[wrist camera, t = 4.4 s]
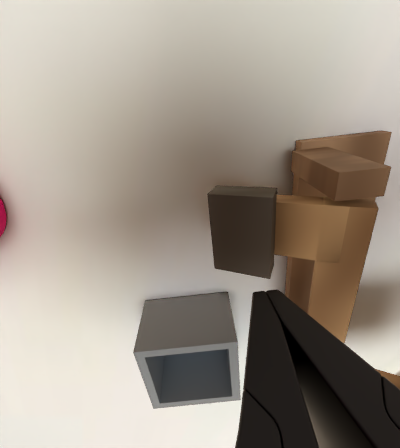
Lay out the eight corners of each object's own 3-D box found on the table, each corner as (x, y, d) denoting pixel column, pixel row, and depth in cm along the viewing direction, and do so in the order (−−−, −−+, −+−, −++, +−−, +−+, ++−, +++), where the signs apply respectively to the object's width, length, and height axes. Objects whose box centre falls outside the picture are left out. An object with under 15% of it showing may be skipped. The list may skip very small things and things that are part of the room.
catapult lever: (824, 196, 6) (1069, 250, 4) (516, 464, 14) (550, 532, 12) (223, 179, 13) (204, 196, 11) (234, 364, 20) (224, 395, 18)
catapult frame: (381, 130, 14) (487, 145, 9) (335, 336, 22) (377, 404, 17) (287, 141, 14) (341, 162, 9) (275, 342, 22) (300, 412, 17)
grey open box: (227, 291, 19) (237, 341, 15) (231, 346, 22) (240, 399, 18) (145, 300, 19) (133, 352, 15) (160, 353, 22) (153, 408, 18)
